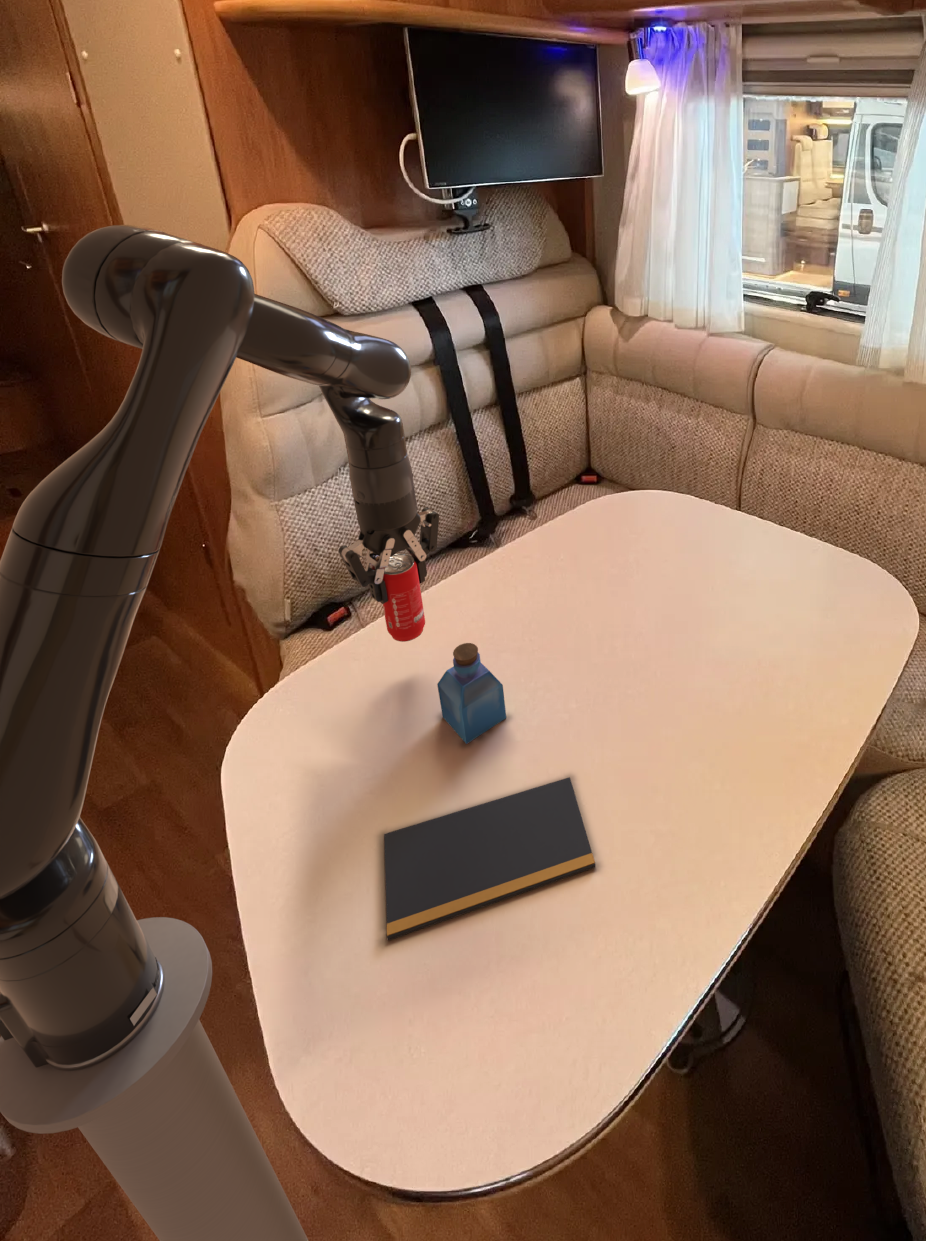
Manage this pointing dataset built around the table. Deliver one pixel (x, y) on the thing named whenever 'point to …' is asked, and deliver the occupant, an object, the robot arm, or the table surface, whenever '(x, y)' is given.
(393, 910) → the front mat
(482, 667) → the perfume bottle
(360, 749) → the table surface
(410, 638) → the beverage can
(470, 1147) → the table surface
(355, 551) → the robot arm
